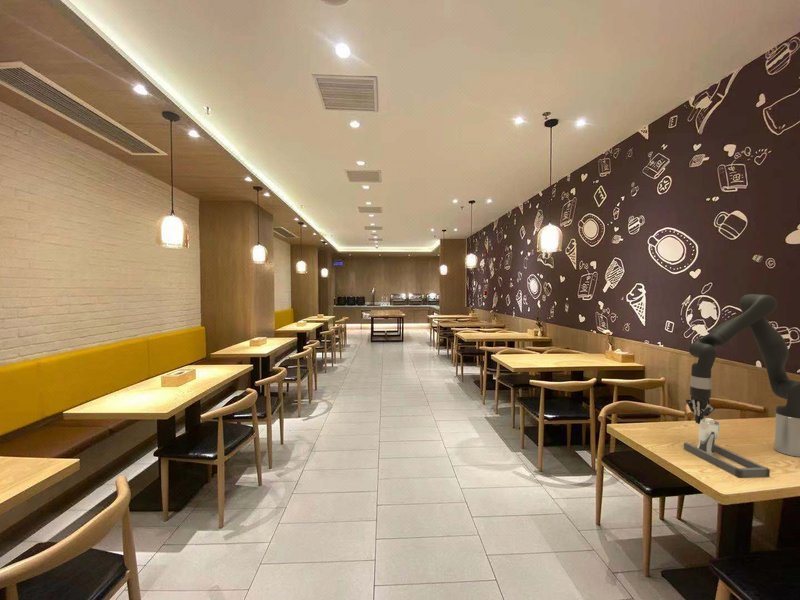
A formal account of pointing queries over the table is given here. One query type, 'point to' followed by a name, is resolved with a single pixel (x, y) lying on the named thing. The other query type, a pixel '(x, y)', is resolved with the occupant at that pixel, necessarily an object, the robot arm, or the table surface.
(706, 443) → the beer glass
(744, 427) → the table surface
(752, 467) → the u rest
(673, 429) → the table surface
